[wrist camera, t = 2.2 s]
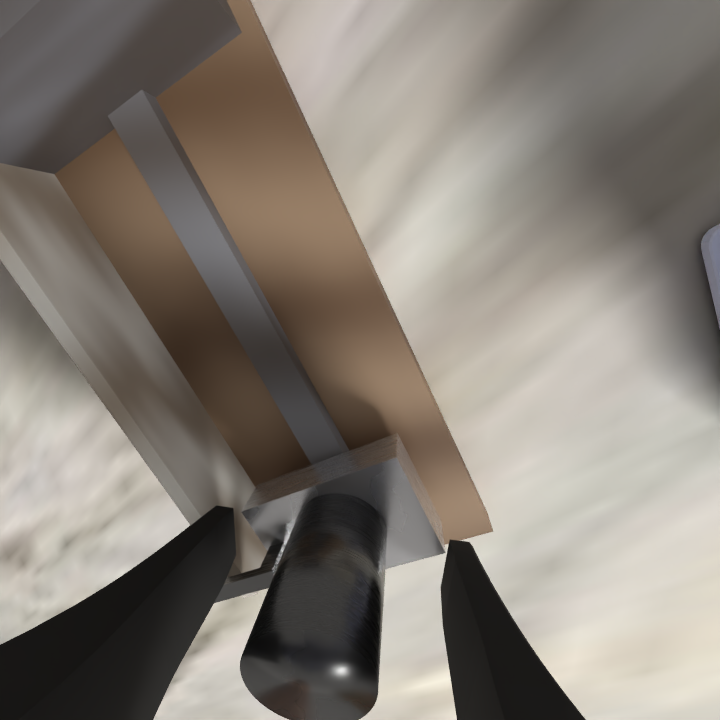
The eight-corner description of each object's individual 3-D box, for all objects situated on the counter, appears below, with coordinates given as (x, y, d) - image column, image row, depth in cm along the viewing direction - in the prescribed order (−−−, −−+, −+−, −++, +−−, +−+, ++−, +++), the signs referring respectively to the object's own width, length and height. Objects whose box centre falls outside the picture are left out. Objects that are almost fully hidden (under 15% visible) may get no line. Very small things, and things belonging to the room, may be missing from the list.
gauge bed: (487, 513, 15) (525, 634, 10) (306, 565, 17) (269, 684, 13) (218, -70, 10) (55, -344, 5) (12, 107, 12) (-231, 21, 8)
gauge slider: (441, 520, 13) (467, 718, 8) (258, 573, 15) (175, 761, 10) (397, 433, 12) (390, 586, 7) (209, 502, 14) (86, 663, 9)
